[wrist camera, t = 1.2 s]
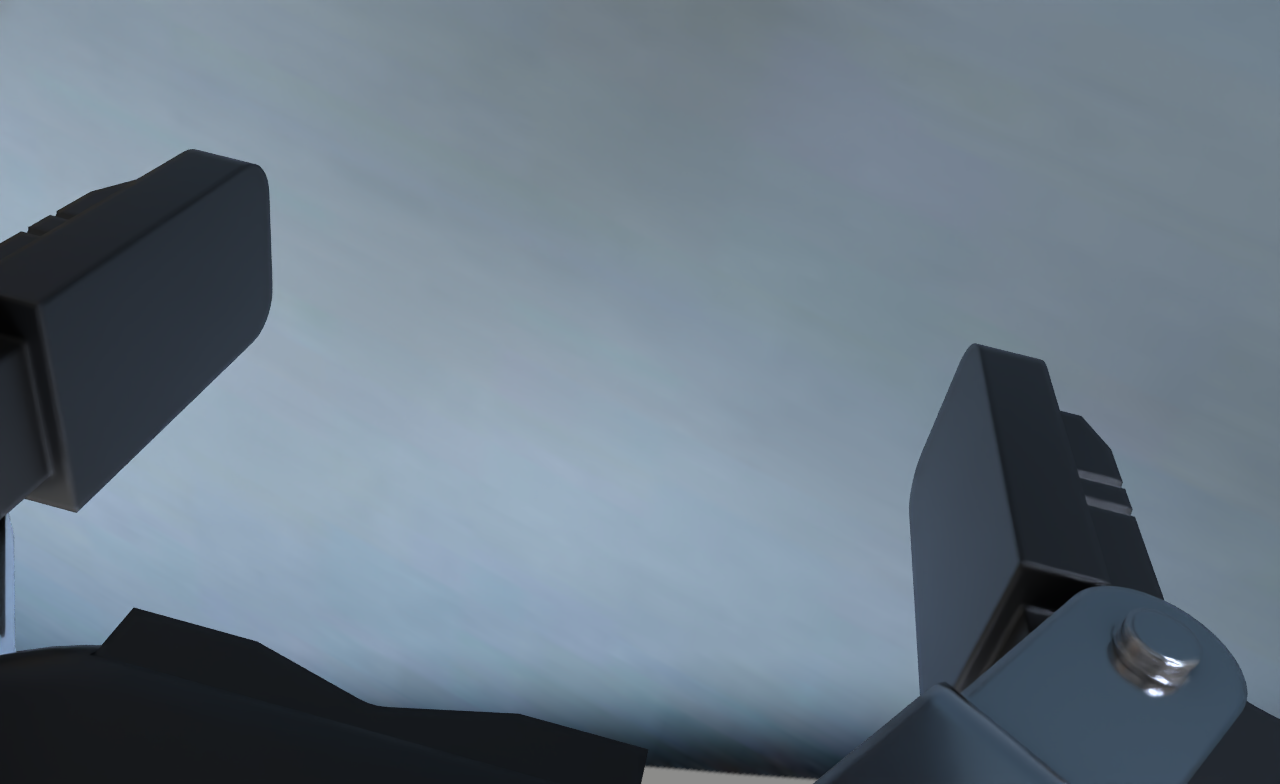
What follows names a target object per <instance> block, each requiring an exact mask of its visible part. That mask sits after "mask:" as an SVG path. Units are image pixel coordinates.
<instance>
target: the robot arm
mask: <svg viewBox="0 0 1280 784" xmlns="http://www.w3.org/2000/svg"><path fill="white" fill-rule="evenodd" d="M28 228H29V229H28V232H27V233H25V232H19V233H18V234H16V235H14V236H12V237H11V238H9V239H7V240H5V241H4V242H2V243H0V784H641V781H642V777H643V772H644V767H645V763H646V758H647V753H648V749H645V748H641V747H637V746H634V745H630V744H627V743H623V742H619V741H616V740H612V739H608V738H605V737H601V736H598V735H594V734H590V733H587V732H583V731H579V730H576V729H572V728H569V727H565V726H561V725H558V724H554V723H550V722H547V721H543V720H540V719H536V718H532V717H529V716H525V715H521V714H513V713H493V712H474V711H454V710H434V709H414V708H395V707H382V706H376V705H373V704H369V703H367V702H364V701H362V700H360V699H358V698H356V697H355V696H353V695H351V694H349V693H347V692H346V691H344V690H342V689H340V688H339V687H337V686H335V685H333V684H332V683H330V682H328V681H326V680H324V679H323V678H321V677H319V676H317V675H316V674H314V673H312V672H310V671H308V670H307V669H305V668H303V667H301V666H300V665H298V664H296V663H294V662H292V661H291V660H289V659H287V658H285V657H284V656H282V655H280V654H278V653H277V652H275V651H273V650H271V649H269V648H268V647H266V646H264V645H262V644H261V643H259V642H257V641H253V640H250V639H246V638H242V637H239V636H235V635H231V634H228V633H224V632H221V631H217V630H213V629H210V628H206V627H202V626H199V625H195V624H192V623H188V622H184V621H181V620H177V619H173V618H170V617H166V616H163V615H159V614H155V613H152V612H148V611H144V610H141V609H137V608H133V609H132V610H131V611H130V613H129V614H128V615H127V616H126V617H125V618H124V620H123V621H122V622H121V623H120V624H119V625H118V627H117V628H116V629H115V630H114V631H113V632H112V634H111V635H110V636H109V637H108V638H107V640H106V641H105V642H104V643H103V644H102V645H75V646H54V647H46V648H39V649H31V650H24V651H17V652H15V575H14V534H13V528H12V524H11V520H10V516H9V512H10V511H11V510H12V509H13V508H14V507H15V506H16V505H18V504H19V503H20V502H21V501H22V500H23V499H27V500H31V501H35V502H39V503H42V504H46V505H50V506H53V507H57V508H61V509H64V510H68V511H72V512H75V513H77V512H78V511H79V510H80V509H81V508H82V507H83V506H84V505H85V504H86V503H87V502H88V501H89V500H90V499H91V498H92V497H93V496H94V495H95V494H97V493H98V492H99V491H100V490H101V489H102V488H103V487H104V486H105V485H106V484H107V483H108V482H109V481H110V480H111V479H112V478H113V477H114V476H115V475H116V474H117V473H118V472H119V471H120V470H121V469H122V468H123V467H124V466H125V465H126V464H128V463H129V462H130V461H131V460H132V459H133V458H134V457H135V456H136V455H137V454H138V453H139V452H140V451H141V450H142V449H143V448H144V447H145V446H146V445H147V444H148V443H149V442H150V441H151V440H152V439H153V438H154V437H155V436H156V435H157V434H158V433H160V432H161V431H162V430H163V429H164V428H165V427H166V426H167V425H168V424H169V423H170V422H171V421H172V420H173V419H174V418H175V417H176V416H177V415H178V414H179V413H180V412H181V411H182V410H183V409H184V408H185V407H186V406H187V405H188V404H189V403H191V402H192V401H193V400H194V399H195V398H196V397H197V396H198V395H199V394H200V393H201V392H202V391H203V390H204V389H205V388H206V387H207V386H208V385H209V384H210V383H211V382H212V381H213V380H214V379H215V378H216V377H217V376H218V375H219V374H220V373H222V372H223V371H224V370H225V369H226V368H227V367H228V366H229V365H230V364H231V363H232V362H233V361H234V360H235V359H236V358H237V357H238V356H239V355H240V354H241V353H242V352H243V351H244V350H245V349H246V348H247V347H248V346H249V345H250V344H251V343H253V341H254V340H255V339H256V338H257V337H258V335H259V334H260V332H261V330H262V329H263V327H264V324H265V322H266V320H267V317H268V314H269V310H270V306H271V301H272V259H271V230H270V201H269V185H268V180H267V177H266V174H265V173H264V171H263V169H262V168H261V167H260V166H258V165H256V164H252V163H248V162H244V161H240V160H236V159H232V158H228V157H224V156H220V155H216V154H212V153H208V152H204V151H200V150H195V149H190V150H187V151H184V152H183V153H181V154H179V155H177V156H176V157H174V158H172V159H171V160H169V161H167V162H166V163H164V164H162V165H160V166H159V167H157V168H155V169H154V170H152V171H150V172H149V173H147V174H145V175H144V176H142V177H140V178H138V179H137V180H133V181H129V182H125V183H122V184H118V185H114V186H110V187H107V188H103V189H99V190H95V191H92V192H89V193H88V194H86V195H84V196H82V197H81V198H79V199H77V200H75V201H74V202H72V203H70V204H68V205H67V206H65V207H63V208H61V209H60V210H58V211H57V214H56V216H52V215H49V216H47V217H46V218H44V219H42V220H40V221H39V222H37V223H35V224H33V225H32V226H30V227H28ZM1122 483H1123V482H1122V479H1121V476H1120V473H1119V471H1118V468H1117V465H1116V462H1115V459H1114V456H1113V454H1112V451H1111V449H1110V448H1109V447H1108V445H1107V444H1106V443H1105V442H1104V441H1103V440H1102V439H1101V438H1100V436H1099V435H1098V434H1097V433H1096V432H1095V431H1094V430H1093V429H1092V427H1091V426H1090V425H1089V424H1088V423H1087V422H1086V421H1085V420H1084V419H1083V417H1082V416H1079V415H1075V414H1071V413H1067V412H1063V411H1060V410H1059V406H1058V403H1057V399H1056V396H1055V393H1054V389H1053V386H1052V383H1051V379H1050V376H1049V372H1048V369H1047V366H1046V364H1045V362H1044V361H1043V360H1041V359H1037V358H1033V357H1029V356H1024V355H1020V354H1016V353H1012V352H1008V351H1004V350H1000V349H996V348H992V347H988V346H984V345H980V344H976V343H974V344H972V345H971V346H970V347H969V348H968V349H967V351H966V352H965V354H964V355H963V357H962V359H961V361H960V364H959V366H958V368H957V370H956V373H955V375H954V378H953V380H952V382H951V385H950V387H949V389H948V392H947V394H946V397H945V399H944V401H943V404H942V406H941V408H940V411H939V413H938V416H937V418H936V420H935V423H934V425H933V427H932V430H931V432H930V434H929V437H928V439H927V442H926V444H925V446H924V449H923V451H922V453H921V456H920V459H919V461H918V464H917V468H916V471H915V475H914V479H913V483H912V488H911V494H910V503H909V517H910V534H911V551H912V567H913V584H914V601H915V618H916V635H917V652H918V669H919V686H920V696H919V697H918V698H917V699H916V700H914V701H913V702H912V703H911V704H909V705H908V706H907V707H906V708H905V709H903V710H902V711H901V712H900V713H899V714H897V715H896V716H895V717H894V718H892V719H891V720H890V721H889V722H888V723H886V724H885V725H884V726H883V727H882V728H880V729H879V730H878V731H877V732H875V733H874V734H873V735H872V736H871V737H869V738H868V739H867V740H866V741H864V742H863V743H862V744H861V745H860V746H858V747H857V748H856V749H855V750H854V751H852V752H851V753H850V754H849V755H847V756H846V757H845V758H844V759H843V760H841V761H840V762H839V763H838V764H837V765H835V766H834V767H833V768H832V769H830V770H829V771H828V772H827V773H826V774H824V775H823V776H822V777H821V778H820V779H818V780H817V781H816V782H815V783H813V784H1280V719H1278V718H1276V717H1274V716H1272V715H1270V714H1269V713H1267V712H1265V711H1263V710H1261V709H1259V708H1257V707H1256V706H1254V705H1252V704H1251V703H1249V702H1248V701H1247V694H1248V693H1247V686H1246V681H1245V678H1244V676H1243V673H1242V670H1241V669H1240V667H1239V665H1238V663H1237V662H1236V660H1235V658H1234V657H1233V656H1232V654H1231V653H1230V652H1229V650H1228V649H1227V648H1226V646H1225V645H1224V644H1223V643H1222V642H1221V641H1220V640H1219V639H1218V638H1217V637H1216V636H1215V635H1214V634H1213V633H1212V632H1211V631H1210V630H1208V629H1207V628H1206V627H1205V626H1204V625H1203V624H1201V623H1200V622H1199V621H1197V620H1196V619H1194V618H1193V617H1192V616H1190V615H1189V614H1187V613H1186V612H1184V611H1182V610H1181V609H1179V608H1177V607H1176V606H1174V605H1172V604H1170V603H1168V602H1166V601H1164V598H1163V595H1162V592H1161V589H1160V587H1159V584H1158V581H1157V578H1156V575H1155V572H1154V570H1153V567H1152V564H1151V561H1150V558H1149V555H1148V553H1147V550H1146V547H1145V544H1144V541H1143V538H1142V536H1141V533H1140V530H1139V527H1138V524H1137V521H1136V519H1135V517H1133V516H1131V512H1132V507H1131V505H1130V502H1129V499H1128V496H1127V493H1126V490H1125V489H1123V488H1121V486H1122Z"/></svg>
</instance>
